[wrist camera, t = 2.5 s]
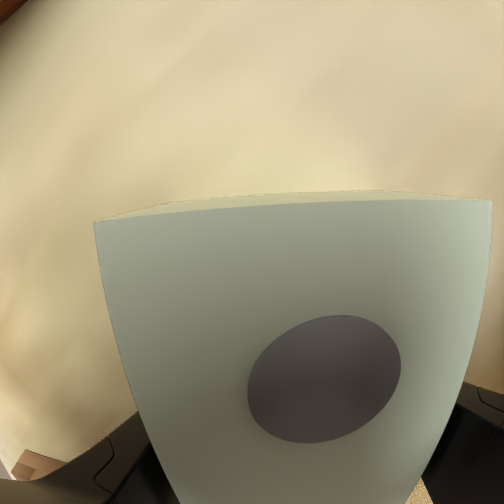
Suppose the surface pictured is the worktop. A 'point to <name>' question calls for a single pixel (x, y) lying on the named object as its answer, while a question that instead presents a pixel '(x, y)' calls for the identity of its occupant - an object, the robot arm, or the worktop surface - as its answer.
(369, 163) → the worktop surface
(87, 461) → the robot arm
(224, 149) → the worktop surface
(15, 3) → the food container
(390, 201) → the pale green spotted block
